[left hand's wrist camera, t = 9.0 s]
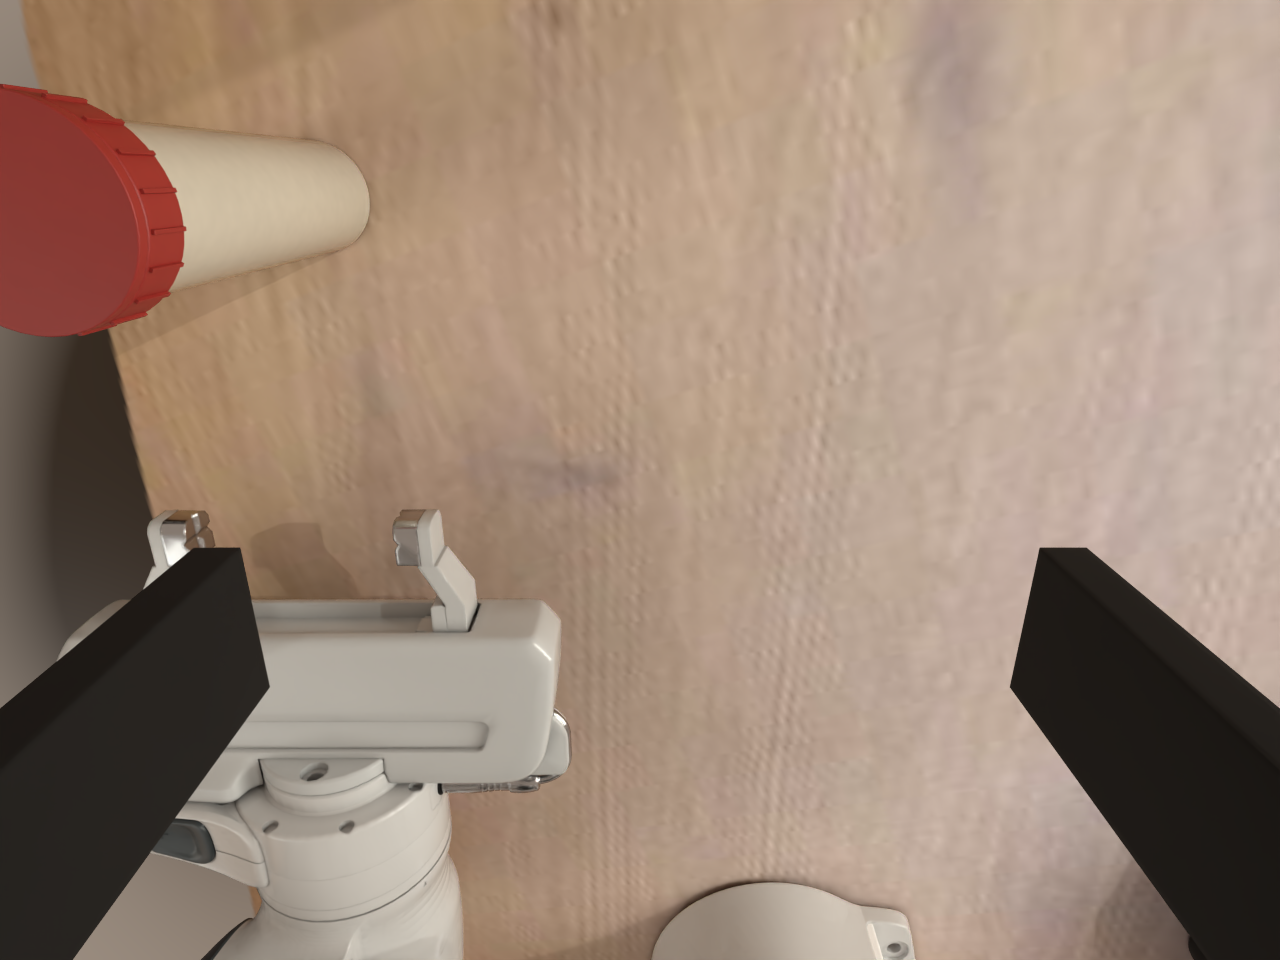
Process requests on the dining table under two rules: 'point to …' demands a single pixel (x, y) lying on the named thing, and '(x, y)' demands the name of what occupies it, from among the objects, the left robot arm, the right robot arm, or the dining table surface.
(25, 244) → the lid
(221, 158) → the jar
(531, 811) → the dining table surface
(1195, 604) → the dining table surface
